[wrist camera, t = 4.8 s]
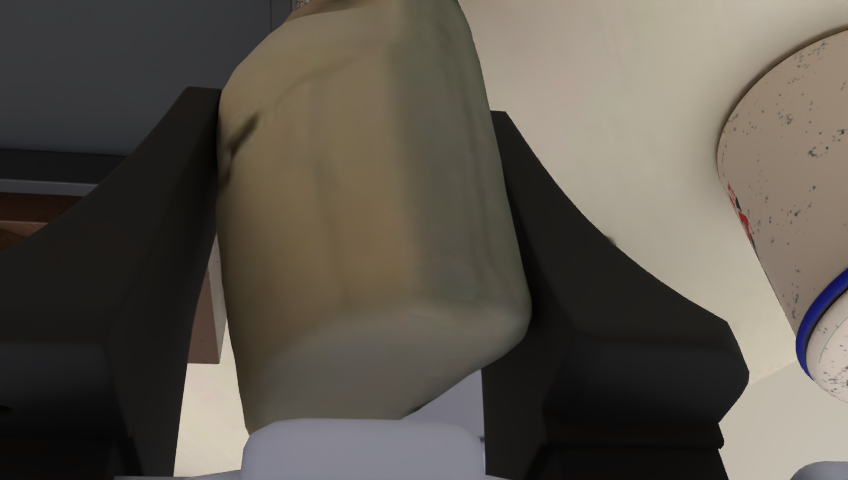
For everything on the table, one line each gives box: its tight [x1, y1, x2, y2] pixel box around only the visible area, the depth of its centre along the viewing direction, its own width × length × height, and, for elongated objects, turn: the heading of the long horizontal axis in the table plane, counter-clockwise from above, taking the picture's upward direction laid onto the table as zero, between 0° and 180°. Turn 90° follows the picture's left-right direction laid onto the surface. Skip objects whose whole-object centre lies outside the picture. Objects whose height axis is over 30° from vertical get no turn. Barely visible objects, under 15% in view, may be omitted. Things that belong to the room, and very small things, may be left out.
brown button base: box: [0, 192, 227, 364], centre depth 28 cm, size 11×8×4 cm
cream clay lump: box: [215, 0, 532, 435], centre depth 14 cm, size 6×5×8 cm
